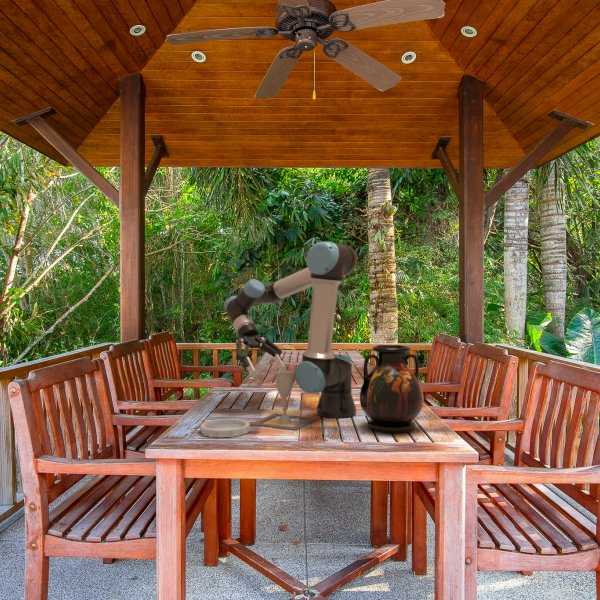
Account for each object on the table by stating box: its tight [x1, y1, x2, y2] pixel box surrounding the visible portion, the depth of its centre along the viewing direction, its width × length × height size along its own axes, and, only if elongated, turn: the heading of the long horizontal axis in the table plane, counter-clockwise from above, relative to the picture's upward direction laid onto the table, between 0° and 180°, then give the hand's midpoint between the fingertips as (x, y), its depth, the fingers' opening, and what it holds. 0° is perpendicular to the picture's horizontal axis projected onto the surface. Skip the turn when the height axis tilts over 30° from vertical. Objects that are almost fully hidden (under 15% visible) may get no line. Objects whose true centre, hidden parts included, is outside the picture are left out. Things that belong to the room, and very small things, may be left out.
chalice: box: [274, 370, 295, 425], centre depth 185 cm, size 7×7×18 cm
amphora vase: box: [359, 344, 425, 434], centre depth 176 cm, size 22×22×28 cm
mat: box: [250, 413, 318, 431], centre depth 185 cm, size 18×18×1 cm
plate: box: [199, 418, 250, 438], centre depth 172 cm, size 16×16×2 cm
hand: (268, 371), depth 192 cm, fingers open, 13 cm apart
